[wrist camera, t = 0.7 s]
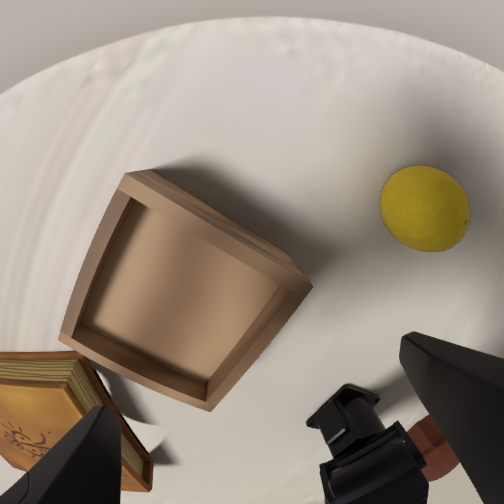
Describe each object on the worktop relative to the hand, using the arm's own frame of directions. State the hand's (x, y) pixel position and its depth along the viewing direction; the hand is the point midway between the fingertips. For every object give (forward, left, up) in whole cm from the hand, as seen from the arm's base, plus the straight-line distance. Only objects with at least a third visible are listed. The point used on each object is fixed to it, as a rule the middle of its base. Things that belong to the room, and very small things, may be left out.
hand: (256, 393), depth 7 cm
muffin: (-42, +10, -13) cm, 46 cm away
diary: (+8, +29, -14) cm, 33 cm away
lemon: (-8, -10, -13) cm, 18 cm away
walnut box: (+2, +4, -13) cm, 14 cm away
